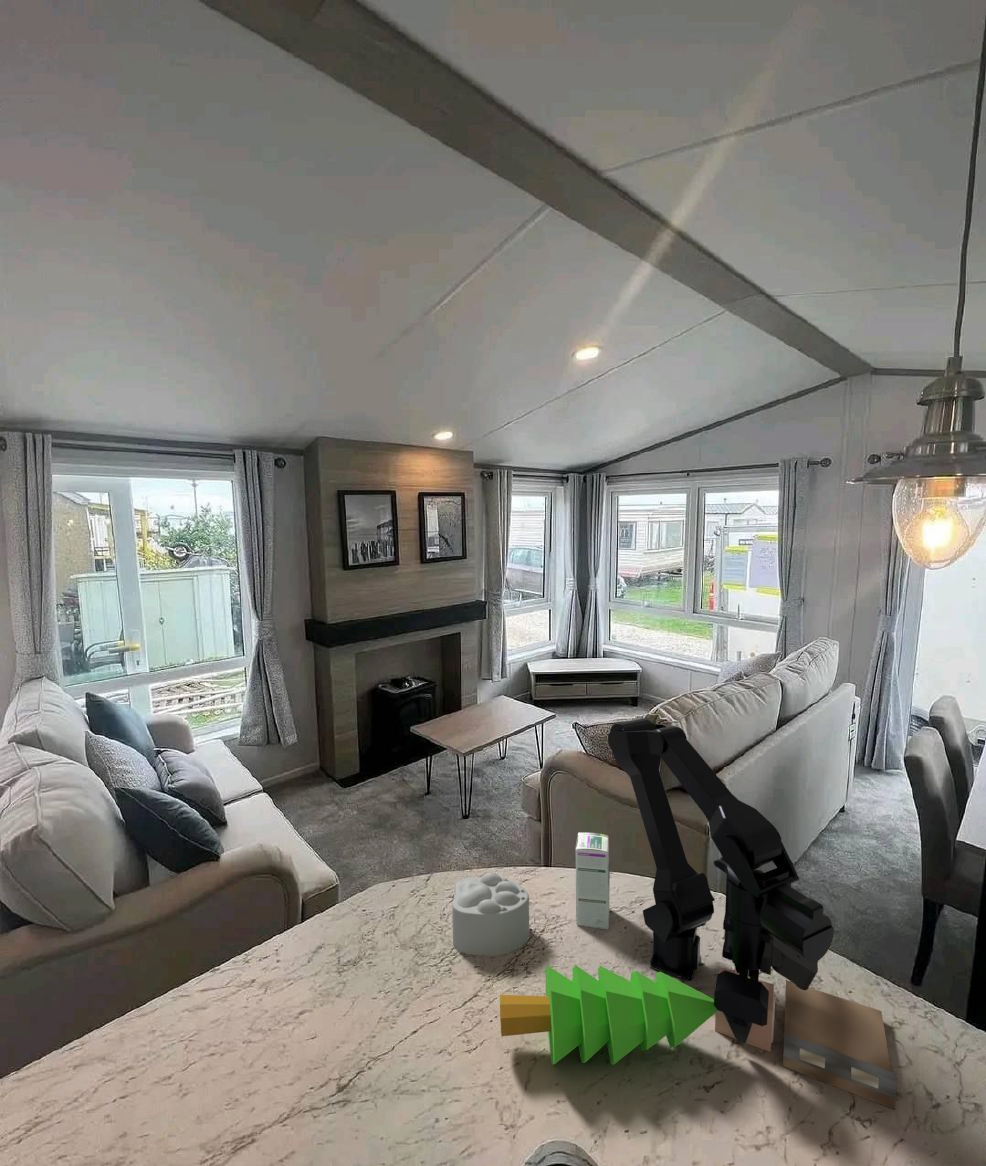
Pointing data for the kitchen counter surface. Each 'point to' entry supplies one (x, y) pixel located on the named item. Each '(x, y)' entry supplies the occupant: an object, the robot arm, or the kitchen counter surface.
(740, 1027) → the robot arm
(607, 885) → the syrup box
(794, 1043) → the tan banded flat block
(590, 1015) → the decorative tree
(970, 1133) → the kitchen counter surface
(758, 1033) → the product carton
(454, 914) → the lumpy-topped squat cylinder
